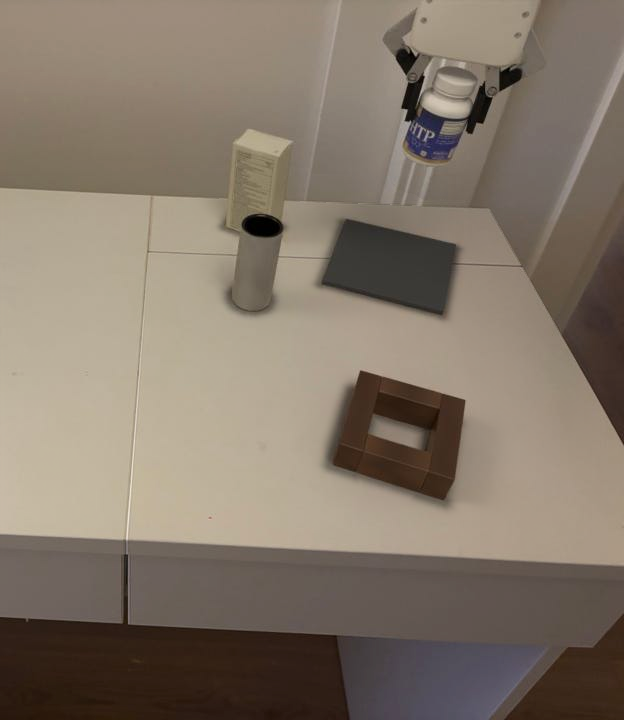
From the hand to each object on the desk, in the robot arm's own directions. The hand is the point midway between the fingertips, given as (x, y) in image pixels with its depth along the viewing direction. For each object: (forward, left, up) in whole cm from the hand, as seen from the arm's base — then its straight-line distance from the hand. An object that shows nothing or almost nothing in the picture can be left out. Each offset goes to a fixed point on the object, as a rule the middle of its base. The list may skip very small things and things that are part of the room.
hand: (439, 120), depth 76 cm
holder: (-5, +26, -20) cm, 33 cm away
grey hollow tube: (+14, +11, -20) cm, 27 cm away
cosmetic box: (+18, -3, -20) cm, 27 cm away
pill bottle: (0, 0, -4) cm, 4 cm away
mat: (0, -2, -20) cm, 20 cm away
